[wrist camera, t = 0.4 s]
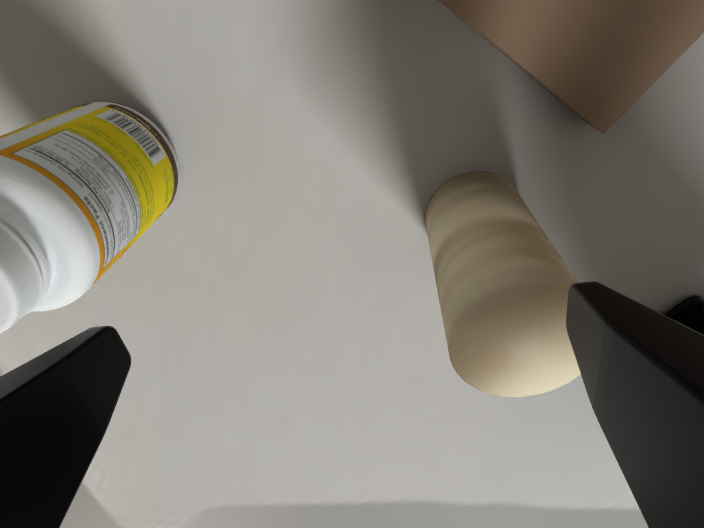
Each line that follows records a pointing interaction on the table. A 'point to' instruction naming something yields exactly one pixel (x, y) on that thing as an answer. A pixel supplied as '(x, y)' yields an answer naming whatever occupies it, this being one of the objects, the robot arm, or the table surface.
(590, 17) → the collar socket
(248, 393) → the table surface
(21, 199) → the supplement bottle
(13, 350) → the table surface
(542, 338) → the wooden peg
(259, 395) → the table surface
